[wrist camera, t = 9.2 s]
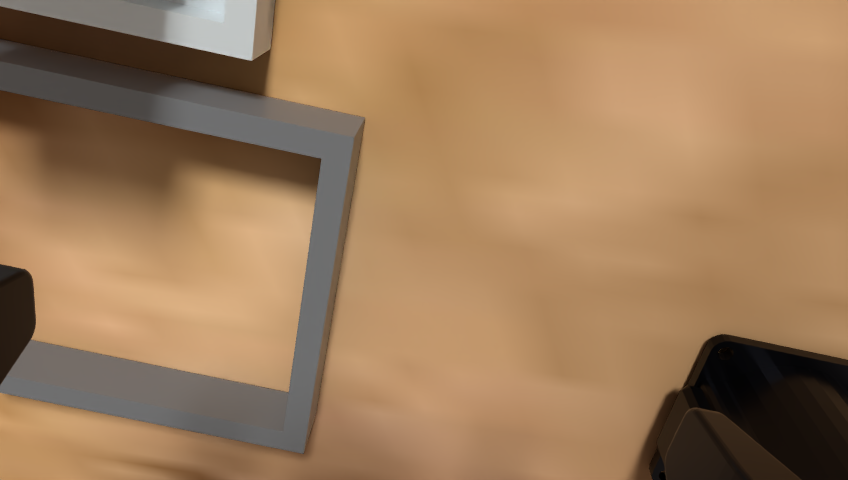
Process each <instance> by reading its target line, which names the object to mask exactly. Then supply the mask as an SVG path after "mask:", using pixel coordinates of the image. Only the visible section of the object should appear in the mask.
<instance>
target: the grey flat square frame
mask: <svg viewBox="0 0 848 480" xmlns="http://www.w3.org/2000/svg"><path fill="white" fill-rule="evenodd" d="M0 90H2V91H7V92H12V93H16V94H21V95H26V96H30V97H35V98H40V99H44V100H49V101H54V102H58V103H63V104H68V105H72V106H77V107H82V108H87V109H91V110H96V111H101V112H105V113H110V114H115V115H119V116H124V117H129V118H133V119H138V120H143V121H147V122H152V123H157V124H161V125H166V126H171V127H175V128H180V129H185V130H189V131H194V132H199V133H203V134H208V135H213V136H217V137H222V138H227V139H232V140H236V141H241V142H246V143H250V144H255V145H260V146H264V147H269V148H274V149H278V150H283V151H288V152H292V153H297V154H302V155H306V156H311V157H316V158H320V159H321V166H320V173H319V180H318V187H317V194H316V202H315V209H314V216H313V223H312V230H311V237H310V244H309V252H308V259H307V266H306V273H305V280H304V287H303V294H302V302H301V309H300V316H299V323H298V330H297V337H296V344H295V351H294V359H293V366H292V373H291V380H290V387H289V393H288V392H283V391H278V390H274V389H269V388H264V387H259V386H254V385H249V384H244V383H239V382H234V381H229V380H225V379H220V378H215V377H210V376H205V375H200V374H195V373H190V372H185V371H180V370H176V369H171V368H166V367H161V366H156V365H151V364H146V363H141V362H136V361H132V360H127V359H122V358H117V357H112V356H107V355H102V354H97V353H92V352H87V351H83V350H78V349H73V348H68V347H63V346H58V345H53V344H48V343H43V342H38V341H34V340H30V341H29V343H28V345H27V346H26V348H25V349H24V351H23V352H22V354H21V355H20V357H19V358H18V360H17V361H16V363H15V364H14V366H13V367H12V369H11V370H10V372H9V373H8V375H7V376H6V378H5V379H4V381H3V382H2V384H1V385H0V393H5V394H10V395H14V396H19V397H24V398H29V399H34V400H39V401H44V402H49V403H54V404H59V405H64V406H69V407H74V408H79V409H84V410H89V411H94V412H99V413H104V414H109V415H114V416H119V417H124V418H128V419H133V420H138V421H143V422H148V423H153V424H158V425H163V426H168V427H173V428H178V429H183V430H188V431H193V432H198V433H203V434H208V435H213V436H218V437H223V438H228V439H233V440H238V441H242V442H247V443H252V444H257V445H262V446H267V447H272V448H277V449H282V450H287V451H292V452H297V453H302V454H304V451H305V448H306V444H307V441H308V438H309V435H310V432H311V429H312V426H313V422H314V419H315V416H316V411H317V405H318V399H319V393H320V387H321V381H322V375H323V369H324V363H325V357H326V351H327V345H328V339H329V333H330V327H331V321H332V315H333V309H334V303H335V297H336V291H337V285H338V278H339V272H340V266H341V260H342V254H343V248H344V242H345V236H346V230H347V224H348V218H349V212H350V206H351V200H352V194H353V188H354V182H355V176H356V170H357V164H358V158H359V152H360V146H361V140H362V134H363V128H364V122H365V118H364V117H360V116H355V115H350V114H346V113H341V112H337V111H332V110H327V109H323V108H318V107H313V106H309V105H304V104H299V103H295V102H290V101H286V100H281V99H276V98H272V97H267V96H262V95H258V94H253V93H248V92H244V91H239V90H235V89H230V88H225V87H221V86H216V85H211V84H207V83H202V82H197V81H193V80H188V79H184V78H179V77H174V76H170V75H165V74H160V73H156V72H151V71H147V70H142V69H137V68H133V67H128V66H123V65H119V64H114V63H109V62H105V61H100V60H96V59H91V58H86V57H82V56H77V55H72V54H68V53H63V52H58V51H54V50H49V49H45V48H40V47H35V46H31V45H26V44H21V43H17V42H12V41H7V40H3V39H0Z"/></svg>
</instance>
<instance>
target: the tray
mask: <svg viewBox="0 0 848 480" xmlns="http://www.w3.org/2000/svg"><path fill="white" fill-rule="evenodd" d="M0 6H1V7H6V8H11V9H15V10H20V11H24V12H29V13H34V14H38V15H43V16H47V17H52V18H57V19H61V20H66V21H70V22H75V23H80V24H84V25H89V26H93V27H98V28H103V29H107V30H112V31H117V32H121V33H126V34H130V35H135V36H140V37H144V38H149V39H153V40H158V41H163V42H167V43H172V44H176V45H181V46H186V47H190V48H195V49H199V50H204V51H209V52H213V53H218V54H222V55H227V56H232V57H236V58H241V59H246V60H250V61H252V60H254V59H256V58H257V57H259V56H260V55H262V54H263V53H265V52H267V51H268V50H270V49H271V39H272V29H273V19H274V8H275V0H0Z"/></svg>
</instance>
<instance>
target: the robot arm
mask: <svg viewBox="0 0 848 480" xmlns="http://www.w3.org/2000/svg"><path fill="white" fill-rule="evenodd" d="M35 325H36V315H35V301H34V286H33V279H32V276H31V274H30V273H29V272H28V271H27V270H25V269H21V268H16V267H11V266H6V265H1V264H0V385H1V384H2V382H3V381H4V379H5V378H6V376H7V375H8V373H9V372H10V370H11V369H12V367H13V366H14V364H15V363H16V361H17V360H18V358H19V357H20V355H21V354H22V352H23V351H24V349H25V348H26V346H27V345H28V343H29V341H30V340H31V338H32V336H33V333H34V330H35ZM724 347H729V349H728V350H727V351H726V352H724V353H718V351H719V350H720V349H722V348H724ZM657 446H658V449H657V451H656V453H655V455H654V457H653V459H652V461H651V463H650V467H649V470H650V473H651V476H652V479H653V480H848V360H846V359H841V358H837V357H832V356H827V355H822V354H818V353H813V352H808V351H803V350H799V349H794V348H789V347H784V346H779V345H775V344H770V343H765V342H760V341H756V340H751V339H746V338H741V337H737V336H732V335H726V334H721V335H717V336H715V337H713V338H711V339H710V340H709V342H708V343H707V345H706V347H705V349H704V351H703V353H702V355H701V357H700V360H699V362H698V364H697V366H696V368H695V370H694V372H693V374H692V376H691V379H690V381H689V383H688V385H687V386H685V387H684V388H683V389H682V390H681V391H680V392H679V395H678V397H677V399H676V401H675V403H674V405H673V407H672V409H671V412H670V414H669V416H668V418H667V420H666V422H665V424H664V427H663V429H662V431H661V433H660V435H659V437H658V439H657ZM664 470H665V472H661V471H664Z"/></svg>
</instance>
